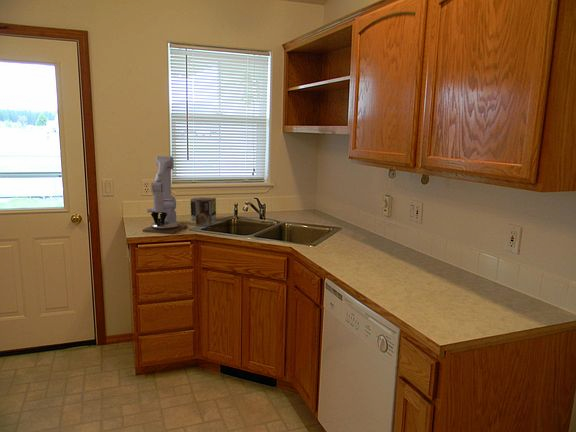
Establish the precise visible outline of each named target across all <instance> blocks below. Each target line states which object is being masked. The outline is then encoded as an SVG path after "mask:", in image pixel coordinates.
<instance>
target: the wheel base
mask: <svg viewBox="0 0 576 432" xmlns="http://www.w3.org/2000/svg"><path fill="white" fill-rule="evenodd" d="M187 228H188V224H180V226H178V227H175V228H167V229H159V228H153V227H151V225H150V226H147V227H145V228H143V229H142V233H153V234H166V235H167V234H169V235H175V234H177V233H178V232H181V231H183V230H185V229H187Z"/></svg>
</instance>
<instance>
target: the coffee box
mask: <svg viewBox="0 0 576 432" xmlns="http://www.w3.org/2000/svg"><path fill="white" fill-rule="evenodd" d="M195 206H196V220H195V226H196V227H210V226H212V225H213V221H212V207H211V200H197V201H195Z"/></svg>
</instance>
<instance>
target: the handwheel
mask: <svg viewBox="0 0 576 432" xmlns="http://www.w3.org/2000/svg"><path fill="white" fill-rule="evenodd" d="M176 221H177V220H176ZM176 221H164V225H161V218H159V217H158V218H157V225H155V222H152V223H151V224H150V226H151V227H153V228H159V229H167V228H175V227H178V226H180V225H181V224H180V222H179V221H178V222H176Z"/></svg>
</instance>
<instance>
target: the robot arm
mask: <svg viewBox="0 0 576 432" xmlns="http://www.w3.org/2000/svg"><path fill="white" fill-rule="evenodd" d="M155 163H156V166H157V167H158V169H157V170H158V172H157V173H155V177H154V182H153V183H152V184H151V190H152V191H151V192H152V196H153V208H147V213H151V214H150V215H151V218H152V219H153V221H154V222H155V225H157V218H159V216H160V218H161V225H164V221H176V222H179V221H177V211H176V208H177V202H176V201H177V199H176V196H173V195H172V183H171V181H172V180H171V179H172V178H171V177H172V175H171V172H172V170H173V169H174V167H175V164H174V157H173V155H171V156H169V155H167V156H159V155H157V156H156V159H155ZM154 222H153V223H154Z"/></svg>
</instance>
